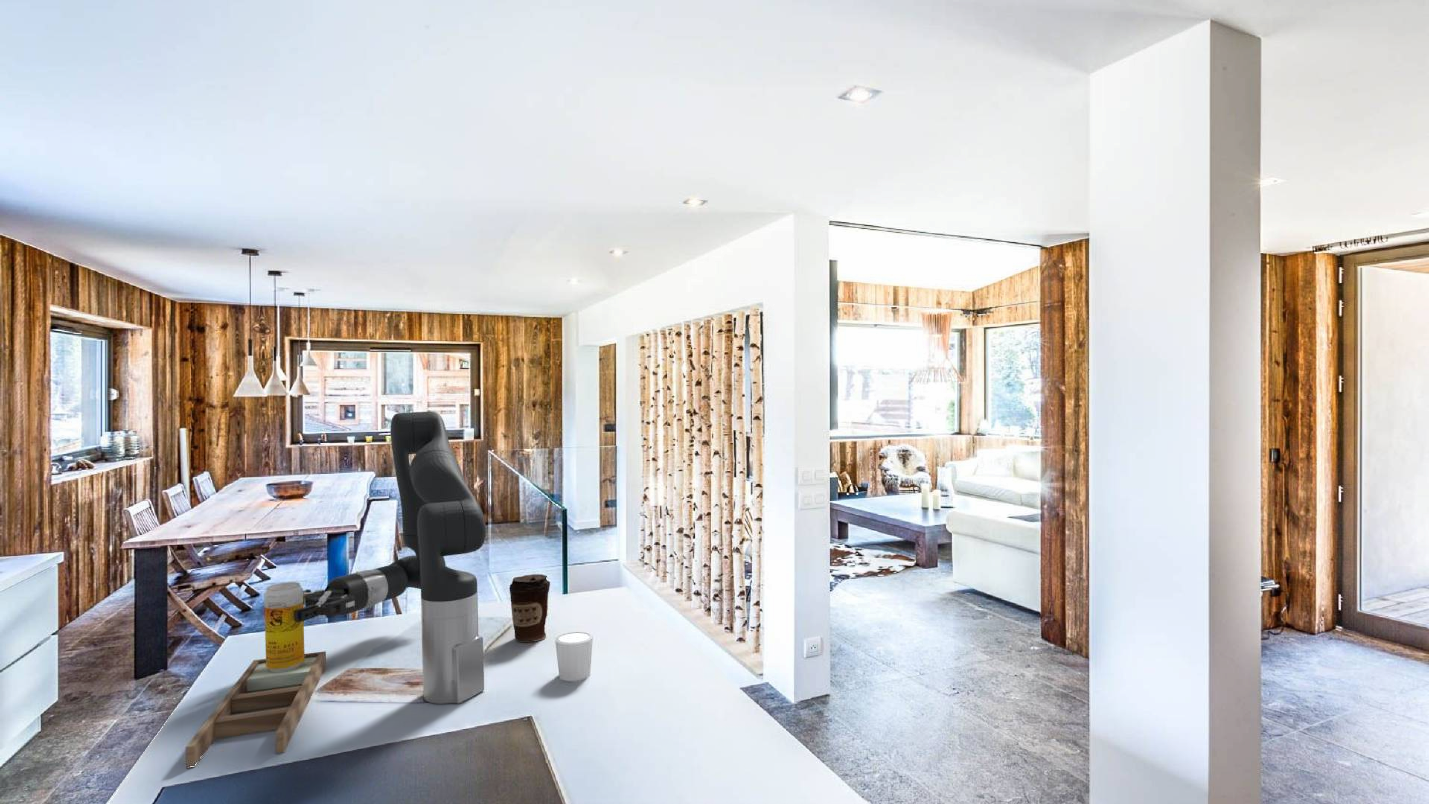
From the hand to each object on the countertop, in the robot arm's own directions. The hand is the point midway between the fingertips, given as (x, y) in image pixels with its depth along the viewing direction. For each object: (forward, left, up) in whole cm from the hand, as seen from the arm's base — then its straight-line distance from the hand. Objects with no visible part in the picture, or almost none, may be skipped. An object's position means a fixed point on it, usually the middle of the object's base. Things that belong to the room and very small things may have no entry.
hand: (280, 614), depth 132 cm
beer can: (0, -1, -10) cm, 10 cm away
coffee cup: (-27, -36, -13) cm, 47 cm away
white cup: (-48, -23, -13) cm, 55 cm away
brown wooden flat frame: (-9, +9, -12) cm, 18 cm away
